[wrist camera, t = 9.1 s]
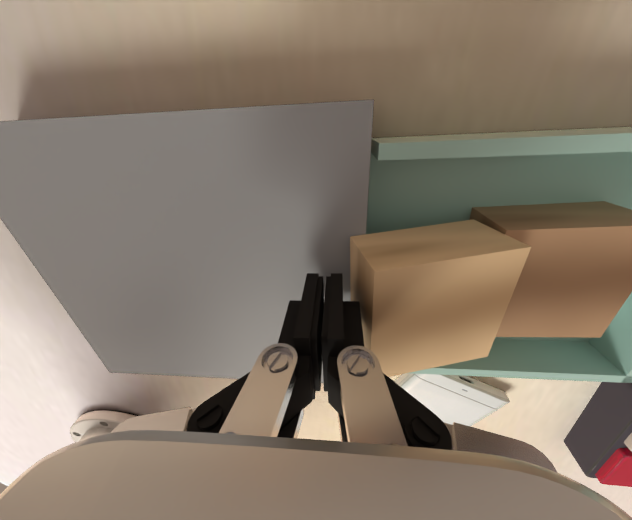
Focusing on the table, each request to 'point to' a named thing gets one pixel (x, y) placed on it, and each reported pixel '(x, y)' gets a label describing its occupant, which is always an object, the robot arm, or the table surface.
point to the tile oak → (433, 292)
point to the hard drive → (454, 396)
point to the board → (187, 224)
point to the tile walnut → (565, 266)
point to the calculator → (605, 435)
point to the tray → (505, 190)
